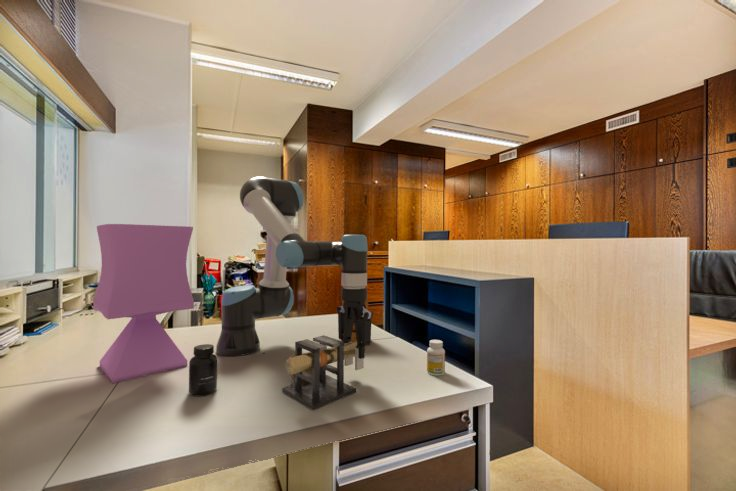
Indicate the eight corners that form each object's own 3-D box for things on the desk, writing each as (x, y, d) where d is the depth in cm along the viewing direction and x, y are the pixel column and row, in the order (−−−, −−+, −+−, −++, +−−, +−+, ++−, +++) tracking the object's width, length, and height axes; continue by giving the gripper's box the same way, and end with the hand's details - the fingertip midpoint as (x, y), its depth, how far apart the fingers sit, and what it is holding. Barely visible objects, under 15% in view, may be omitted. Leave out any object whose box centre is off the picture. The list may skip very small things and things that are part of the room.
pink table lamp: (193, 365, 109) (194, 226, 109) (107, 386, 93) (108, 223, 93) (170, 350, 125) (171, 228, 125) (93, 366, 108) (93, 226, 108)
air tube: (294, 377, 82) (295, 360, 82) (285, 372, 85) (285, 355, 85) (364, 356, 99) (365, 342, 99) (355, 352, 102) (355, 339, 102)
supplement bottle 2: (433, 368, 108) (433, 337, 108) (448, 372, 104) (448, 341, 104) (423, 372, 104) (423, 341, 104) (438, 377, 101) (438, 345, 101)
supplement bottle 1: (205, 398, 86) (206, 351, 86) (182, 395, 88) (182, 349, 88) (222, 387, 93) (222, 343, 93) (200, 384, 94) (201, 342, 94)
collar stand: (282, 391, 90) (282, 341, 90) (324, 377, 100) (324, 332, 100) (313, 410, 80) (313, 353, 80) (356, 392, 90) (356, 342, 90)
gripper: (384, 288, 96) (383, 371, 96) (345, 283, 108) (344, 356, 108) (365, 291, 90) (364, 378, 90) (326, 285, 102) (325, 362, 103)
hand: (353, 366), depth 99 cm, fingers closed on air tube, 4 cm apart
